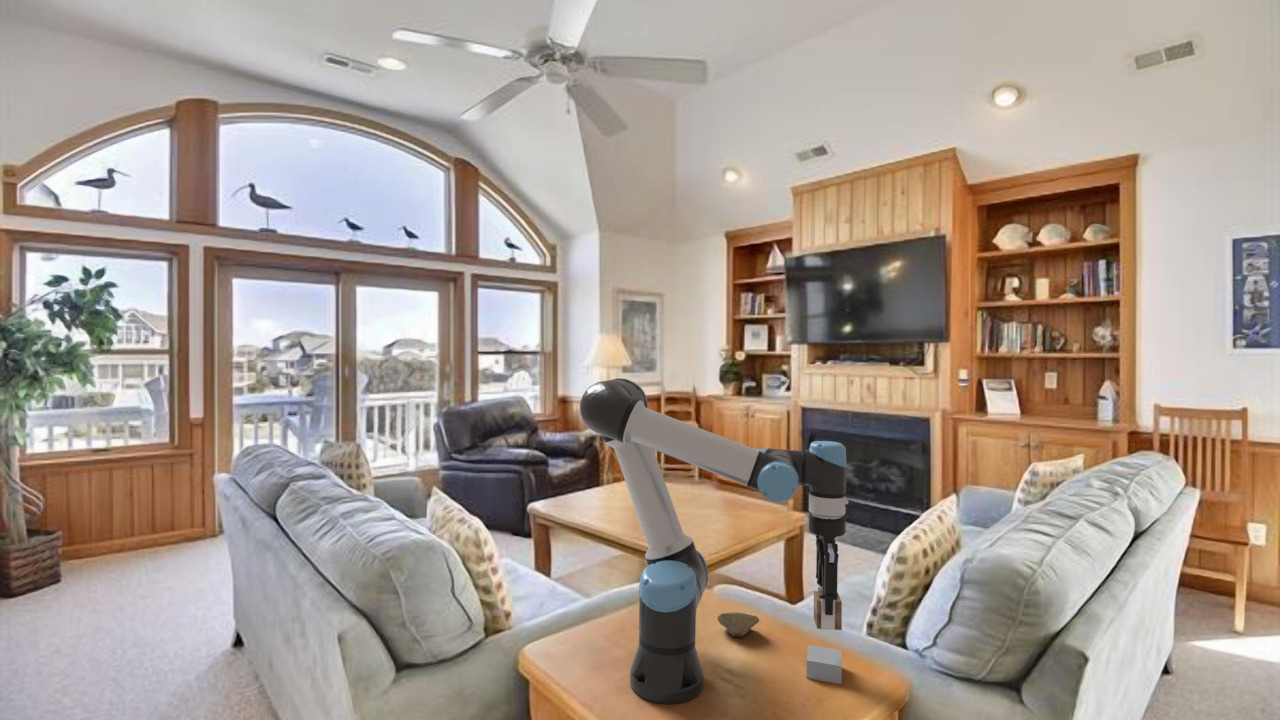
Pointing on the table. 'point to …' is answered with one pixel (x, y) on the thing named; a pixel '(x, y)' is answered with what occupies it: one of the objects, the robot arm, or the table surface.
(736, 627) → the fossil
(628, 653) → the table surface
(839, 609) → the walnut block
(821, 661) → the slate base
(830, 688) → the table surface
